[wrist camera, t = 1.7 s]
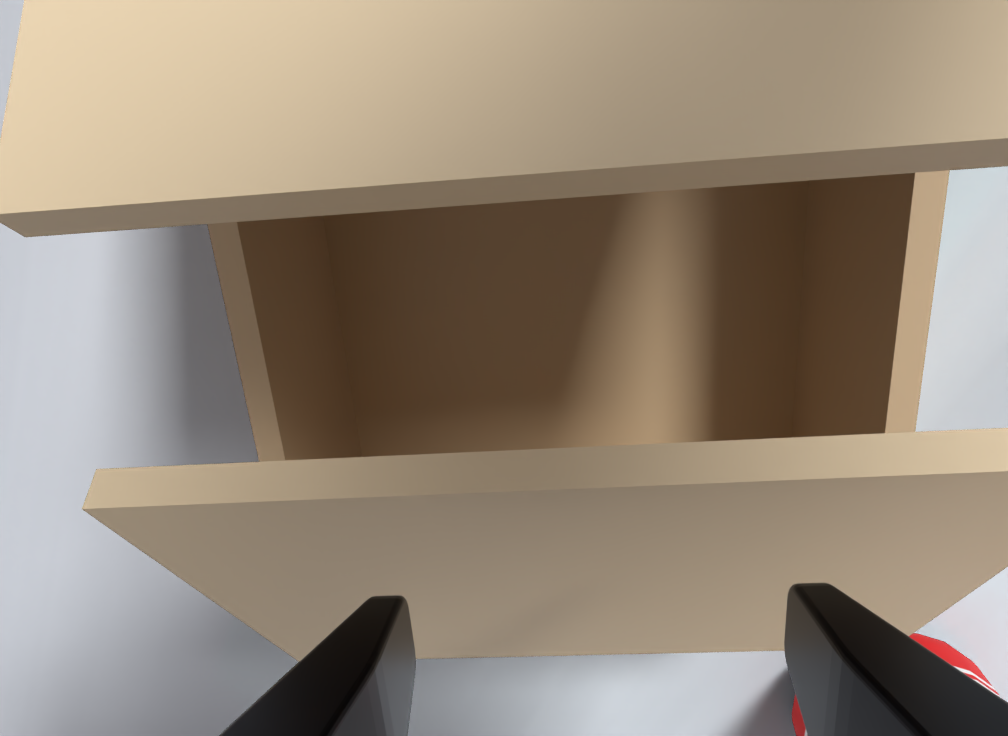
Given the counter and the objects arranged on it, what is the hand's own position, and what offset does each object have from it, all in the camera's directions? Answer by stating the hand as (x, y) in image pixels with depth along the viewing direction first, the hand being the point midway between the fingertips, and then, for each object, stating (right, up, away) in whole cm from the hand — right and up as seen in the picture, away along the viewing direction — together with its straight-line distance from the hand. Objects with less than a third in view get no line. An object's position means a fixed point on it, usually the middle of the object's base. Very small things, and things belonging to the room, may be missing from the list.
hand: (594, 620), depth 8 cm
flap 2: (0, -1, +5) cm, 5 cm away
